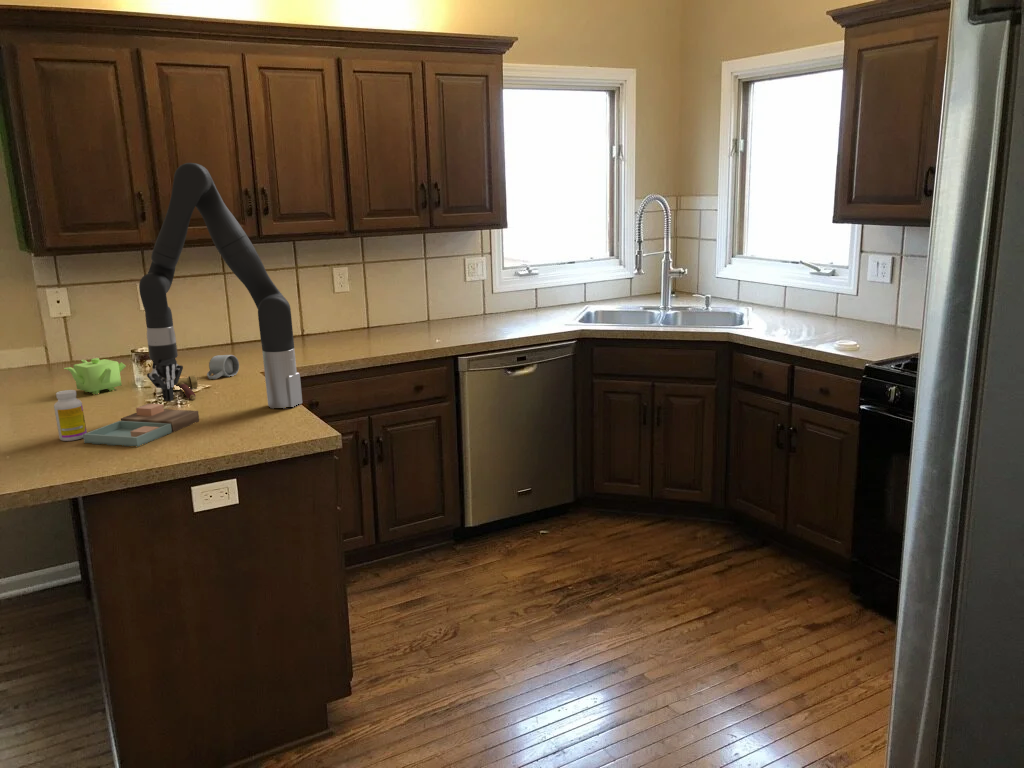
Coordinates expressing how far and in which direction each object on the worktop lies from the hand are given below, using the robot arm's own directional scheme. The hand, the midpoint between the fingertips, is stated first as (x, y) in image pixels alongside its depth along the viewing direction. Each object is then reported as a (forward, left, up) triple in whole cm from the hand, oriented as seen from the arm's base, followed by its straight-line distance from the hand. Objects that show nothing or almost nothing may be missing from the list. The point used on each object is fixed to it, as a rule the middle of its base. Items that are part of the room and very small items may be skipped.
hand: (168, 400), depth 238 cm
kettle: (+47, -22, -5) cm, 52 cm away
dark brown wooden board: (-4, +9, -5) cm, 11 cm away
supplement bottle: (+11, +25, -5) cm, 28 cm away
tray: (-4, +22, -5) cm, 23 cm away
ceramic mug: (+18, -49, -5) cm, 52 cm away
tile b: (0, +8, -2) cm, 8 cm away
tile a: (-9, +21, -2) cm, 23 cm away
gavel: (+13, -24, -5) cm, 27 cm away
